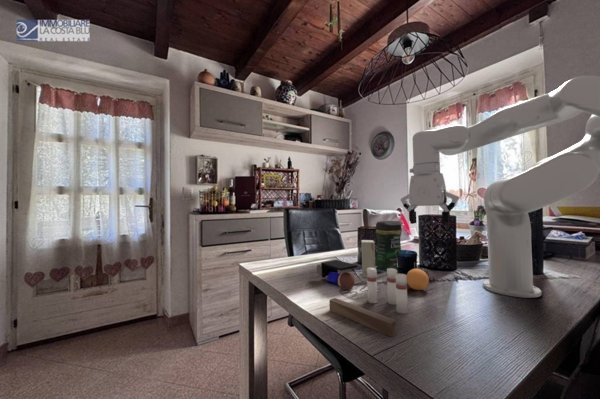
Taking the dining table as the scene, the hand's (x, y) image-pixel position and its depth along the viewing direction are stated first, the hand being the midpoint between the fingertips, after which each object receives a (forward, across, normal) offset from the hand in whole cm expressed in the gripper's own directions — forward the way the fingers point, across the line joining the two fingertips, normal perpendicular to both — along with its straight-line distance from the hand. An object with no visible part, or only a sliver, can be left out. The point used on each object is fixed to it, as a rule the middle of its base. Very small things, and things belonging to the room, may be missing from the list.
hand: (428, 224), depth 78 cm
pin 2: (+18, +3, -26) cm, 32 cm away
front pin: (+18, -1, -23) cm, 30 cm away
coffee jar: (+19, -18, +7) cm, 27 cm away
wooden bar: (+18, -1, -37) cm, 41 cm away
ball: (+16, 0, -9) cm, 18 cm away
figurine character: (+19, -21, -22) cm, 35 cm away
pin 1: (+18, -5, -26) cm, 32 cm away
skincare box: (+19, -18, -7) cm, 27 cm away
